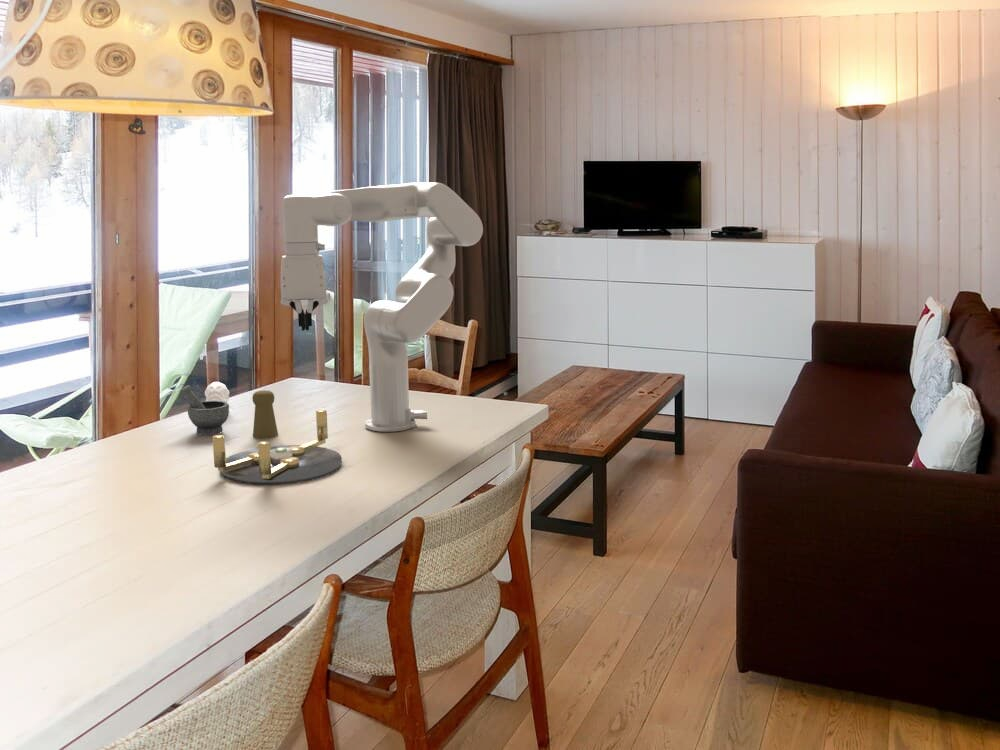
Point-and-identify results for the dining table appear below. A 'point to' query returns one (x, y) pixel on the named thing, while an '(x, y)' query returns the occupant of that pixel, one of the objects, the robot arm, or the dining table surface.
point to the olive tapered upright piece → (264, 415)
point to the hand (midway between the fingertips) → (305, 329)
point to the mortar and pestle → (205, 413)
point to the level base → (310, 467)
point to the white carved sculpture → (217, 392)
